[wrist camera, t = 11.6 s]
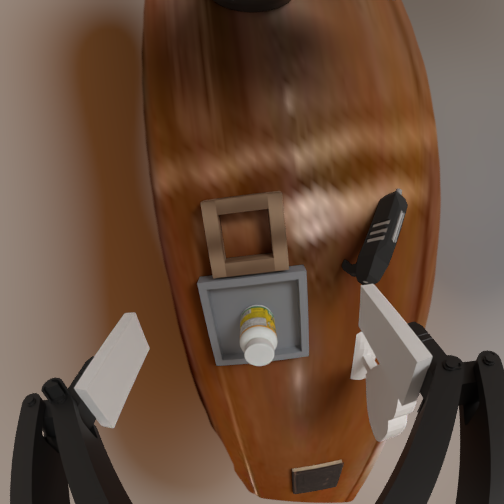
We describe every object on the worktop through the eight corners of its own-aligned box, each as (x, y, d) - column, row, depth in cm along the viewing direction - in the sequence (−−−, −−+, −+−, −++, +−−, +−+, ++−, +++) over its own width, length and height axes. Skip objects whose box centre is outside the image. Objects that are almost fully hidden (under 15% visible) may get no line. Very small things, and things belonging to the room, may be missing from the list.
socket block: (203, 200, 38) (200, 202, 36) (279, 190, 38) (282, 192, 36) (215, 272, 42) (213, 278, 39) (286, 263, 41) (289, 269, 39)
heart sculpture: (370, 379, 50) (400, 441, 32) (349, 384, 50) (375, 450, 33) (381, 321, 45) (428, 384, 28) (357, 326, 45) (398, 394, 28)
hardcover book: (342, 457, 61) (344, 463, 59) (335, 481, 68) (336, 486, 66) (291, 467, 62) (292, 473, 60) (292, 489, 69) (293, 494, 66)
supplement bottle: (240, 303, 42) (238, 339, 33) (274, 303, 42) (280, 338, 33) (241, 332, 44) (239, 370, 35) (273, 331, 44) (278, 369, 35)
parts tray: (199, 276, 42) (197, 283, 39) (303, 264, 41) (306, 270, 39) (217, 357, 46) (216, 365, 44) (306, 347, 46) (308, 355, 44)
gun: (376, 207, 44) (415, 192, 35) (342, 288, 41) (385, 288, 31) (365, 197, 44) (404, 180, 34) (329, 279, 40) (371, 277, 31)
